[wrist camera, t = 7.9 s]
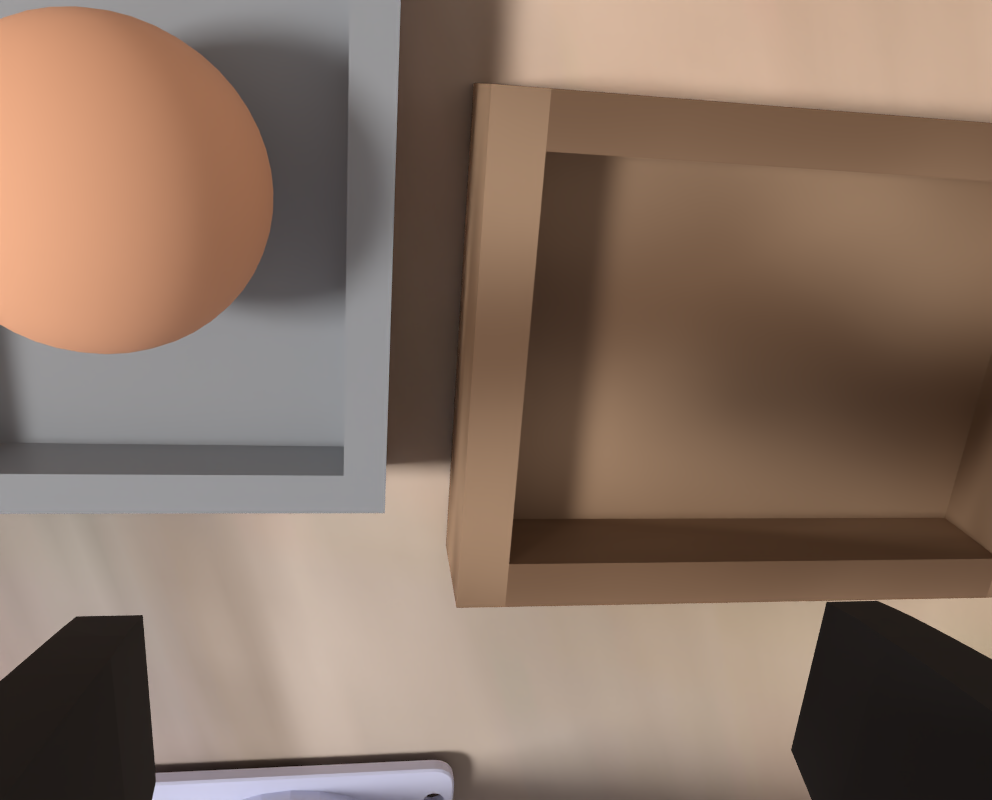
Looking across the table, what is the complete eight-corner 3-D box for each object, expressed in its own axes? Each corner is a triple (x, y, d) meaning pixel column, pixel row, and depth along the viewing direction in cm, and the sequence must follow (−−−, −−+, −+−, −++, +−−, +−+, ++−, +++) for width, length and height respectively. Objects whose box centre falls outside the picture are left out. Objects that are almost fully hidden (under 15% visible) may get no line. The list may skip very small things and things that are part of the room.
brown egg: (293, 312, 16) (257, 399, 12) (16, 309, 16) (-140, 400, 11) (284, 30, 15) (236, -2, 10) (-27, 12, 14) (-232, -30, 9)
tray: (382, 466, 19) (384, 513, 17) (-65, 462, 17) (-123, 513, 15) (401, -173, 15) (407, -214, 13) (-183, -246, 13) (-284, -304, 11)
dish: (955, 541, 22) (1026, 596, 19) (446, 545, 20) (456, 607, 17) (1075, 130, 18) (1178, 137, 16) (473, 82, 16) (491, 83, 14)
